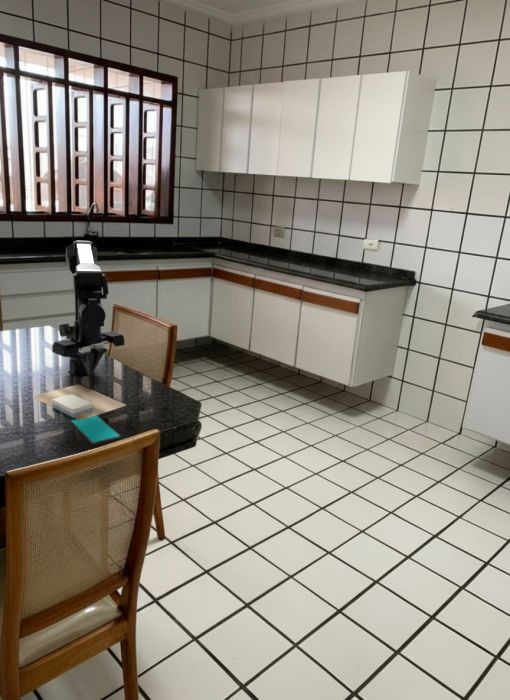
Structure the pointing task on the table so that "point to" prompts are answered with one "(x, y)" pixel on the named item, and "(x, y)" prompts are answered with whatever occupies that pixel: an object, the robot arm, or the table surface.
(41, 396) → the mat
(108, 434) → the smartphone
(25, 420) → the table surface
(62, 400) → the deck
